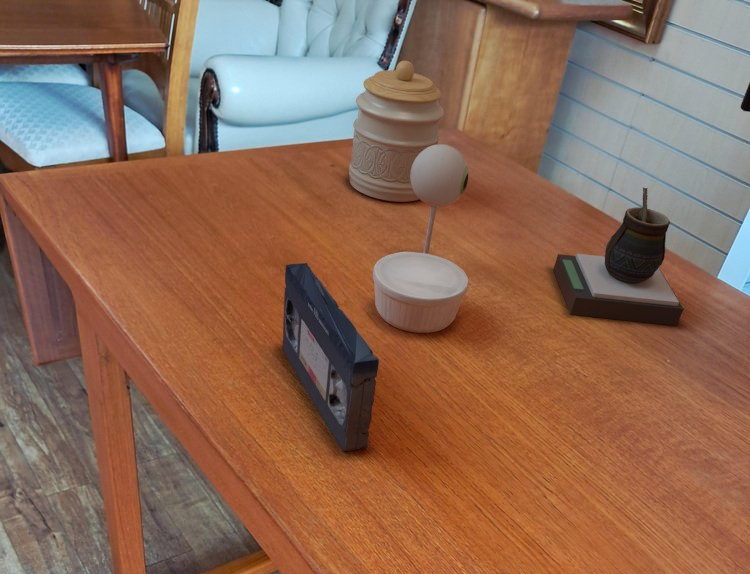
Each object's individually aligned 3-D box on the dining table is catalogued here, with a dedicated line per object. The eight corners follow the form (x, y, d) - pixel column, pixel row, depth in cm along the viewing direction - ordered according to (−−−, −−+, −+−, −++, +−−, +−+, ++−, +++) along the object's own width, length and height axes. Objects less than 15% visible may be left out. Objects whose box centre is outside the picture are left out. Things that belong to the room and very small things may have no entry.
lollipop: (442, 280, 102) (465, 161, 92) (390, 266, 103) (407, 147, 93) (456, 258, 107) (479, 144, 97) (406, 245, 108) (424, 131, 98)
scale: (651, 281, 109) (659, 260, 107) (676, 325, 100) (686, 304, 98) (553, 270, 108) (559, 249, 106) (570, 314, 99) (577, 292, 97)
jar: (330, 178, 122) (341, 51, 110) (390, 165, 130) (406, 45, 118) (387, 210, 116) (405, 79, 104) (447, 194, 123) (470, 70, 111)
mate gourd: (612, 289, 99) (639, 211, 92) (588, 260, 104) (613, 185, 98) (663, 289, 101) (694, 213, 94) (637, 262, 106) (665, 187, 99)
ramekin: (391, 344, 89) (398, 302, 85) (353, 295, 96) (357, 255, 92) (477, 333, 93) (487, 292, 89) (434, 287, 100) (441, 247, 96)
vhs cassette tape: (280, 348, 85) (284, 262, 79) (306, 346, 86) (313, 261, 80) (338, 455, 73) (349, 364, 67) (367, 450, 74) (381, 360, 68)
